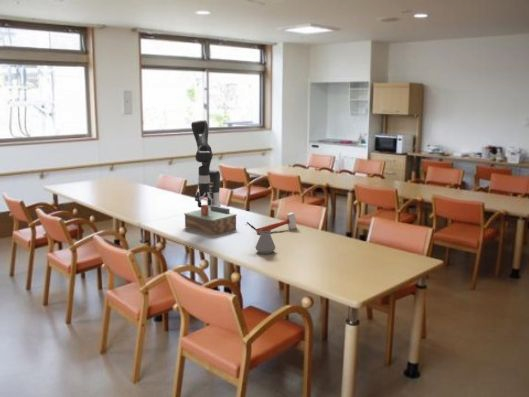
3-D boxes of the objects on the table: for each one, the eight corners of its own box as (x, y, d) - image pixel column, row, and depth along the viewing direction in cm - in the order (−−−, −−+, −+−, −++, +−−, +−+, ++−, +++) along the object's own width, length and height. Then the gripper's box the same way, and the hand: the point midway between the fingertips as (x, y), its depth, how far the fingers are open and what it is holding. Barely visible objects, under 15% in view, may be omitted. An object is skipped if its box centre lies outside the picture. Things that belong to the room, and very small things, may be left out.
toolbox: (206, 222, 370) (206, 209, 368) (236, 229, 352) (236, 215, 350) (185, 227, 355) (184, 214, 353) (214, 235, 337) (214, 221, 335)
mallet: (257, 225, 337) (295, 212, 352) (254, 224, 340) (292, 211, 355) (260, 240, 340) (296, 227, 355) (257, 239, 343) (293, 226, 358)
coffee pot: (279, 252, 302) (279, 226, 299) (265, 256, 294) (265, 230, 291) (253, 244, 316) (253, 220, 313) (239, 248, 308) (239, 223, 305)
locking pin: (205, 222, 351) (204, 204, 349) (208, 222, 349) (208, 205, 346) (201, 223, 348) (201, 205, 346) (204, 223, 346) (204, 205, 344)
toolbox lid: (207, 209, 368) (207, 204, 367) (236, 215, 350) (236, 209, 350) (184, 214, 352) (184, 208, 352) (213, 221, 335) (213, 215, 334)
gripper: (208, 180, 351) (208, 204, 354) (192, 182, 340) (192, 207, 343) (216, 181, 346) (216, 205, 349) (200, 183, 335) (200, 208, 339)
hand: (204, 206), depth 346 cm, fingers open, 8 cm apart
